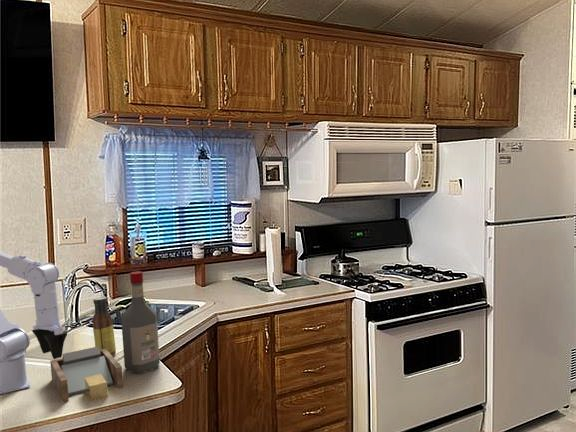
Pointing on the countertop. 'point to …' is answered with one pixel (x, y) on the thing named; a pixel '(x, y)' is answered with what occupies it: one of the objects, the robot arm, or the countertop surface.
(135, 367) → the liquor
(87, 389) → the yellow wooden block
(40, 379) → the countertop surface
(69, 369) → the trapdoor
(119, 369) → the frame
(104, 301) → the sauce bottle
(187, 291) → the countertop surface
